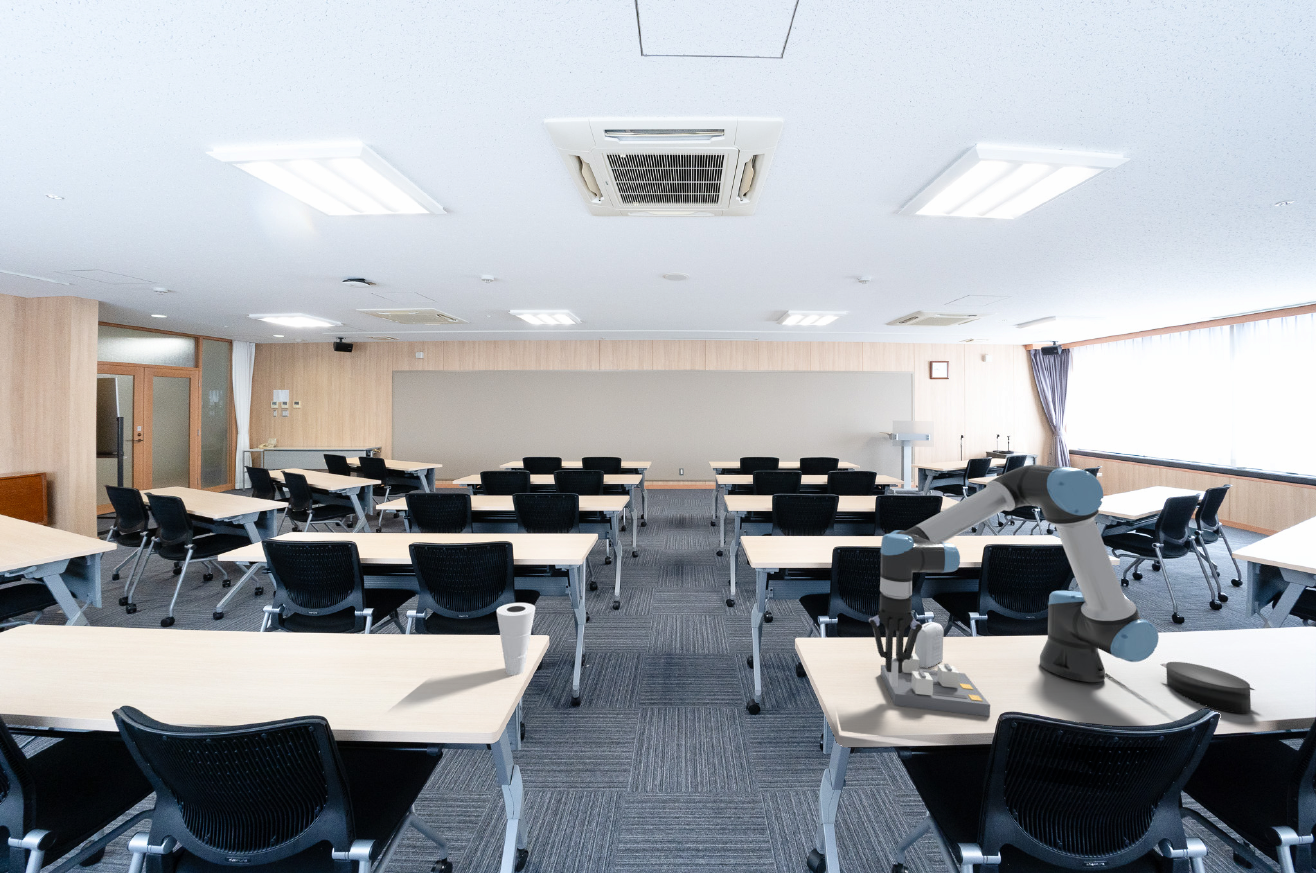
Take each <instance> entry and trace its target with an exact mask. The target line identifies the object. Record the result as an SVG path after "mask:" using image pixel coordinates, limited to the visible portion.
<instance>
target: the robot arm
mask: <svg viewBox="0 0 1316 873" xmlns="http://www.w3.org/2000/svg"><path fill="white" fill-rule="evenodd" d="M985 486H986V487H984V488H983V489H981V490H979V491H977V492H976V493H974V494H971V495H970V496H968V497H965V498H964V499H962V500H960V501H959V502H957V503H955V504H953V505H952V506H951V505H950V506H949V507H948V508H945V509H944V510H942V511H940V512H939V513H936V514H935V515H933V516H931V517H929V518H928V519H925V520H924V521H922V522H920V523H918V524H916V525H914V526H913V527H911V528H908V529H907V530H903V529H902V530H900V529H899V530H893V531H891V532H890V533H886V534H884V535H883V536H882V538H881V544H880V546H881V547H880V582H879V583H880V585H879V591H880V594H879V609H878V612H877V614H876V615H875V616H874V617H869V618H867V619H868V622H869V624H870V625H871V627H872V630H873V635H874V639H875V644H876V647H877V652H878V654H879V656H880V658H884V659H885V664H884V665H885V668H886V670H887V672H889V682H890V684H891V686H893V687H898V673H902V663H903V662H904V660H910V658H911V655H912V653H913V651H914V649H915V641H916V638H917V635H918V633H919V631H920V630H921V629H922V625H923V624H921V622H920V621H917V620H915V619H914V616H913V615H912V597H911V596H912V595H913V573H941V574H943V573H951V572H955V571H957V570H958V569H959V566H960V564H961V554H960V551H959V549H958V548H957V546H956V545H954V544H953V543H951V542H948V541H949V540H951V539H952V538H954V537H956V536H958V535H960V534H962V533H964V532H965V531H968V530H970V529H971V528H973V527H975V526H977V525H979V524H981V523H982V522H984V521H986V520H989V519H990V518H992V517H994V516H995V515H997V514H999V513H1001V512H1003V511H1008V512H1011V511H1013V510H1015V509H1017V508H1020V507H1024V506H1033V507H1038V508H1040V509H1041V512H1042V514H1043V517H1044V519H1045V521H1046V522H1047V523H1049V524H1050V525H1053V526H1055V529H1056V533H1057V534H1058V536H1059V538H1060V541H1061V544H1062V547H1063V549H1064V552H1065V555H1066V557H1067V560H1068V563H1069V565H1070V567H1071V570H1072V573H1073V575H1074V578H1075V579H1076V582H1077V585H1078V589H1079V591H1077V590H1076V591H1074V590H1054V591H1051V593H1050V594H1049V597H1048V598H1049V599H1048V603H1047V607H1048V608H1047V613H1048V614H1047V640H1046V642H1045V643H1044V646H1043V649H1042V650H1041V653H1040V654H1039V665H1040V666H1041V667H1043V668H1044V669H1045V670H1046V671H1048V672H1051V673H1053V674H1055V675H1058V676H1059V677H1063V678H1067V679H1070V680H1075V681H1080V682H1086V683H1088V682H1089V683H1099V682H1103V681H1104V680H1106V679H1105V678H1106V669H1105V666H1104V663H1103V661H1102V658H1101V655H1100V652H1099V650H1101V651H1102V652H1104V653H1107V654H1109V655H1110V656H1113V657H1115V658H1117V659H1121V660H1123V661H1127V662H1130V663H1139V662H1142V661H1144V660H1146V659H1148V658H1149V657H1151V655H1152V654H1154V652H1155V649H1156V648H1157V647H1158V643H1159V633H1158V629H1157V627H1156V626H1155V625H1154V623H1151V622H1150V621H1149V620H1147V619H1143V618H1141V616H1140V613H1139V611H1138V608H1137V606H1136V604H1135V603H1134V602H1133V601H1132V600H1129V599H1127V598H1126V597H1125V594H1124V592H1123V588H1122V587H1121V584H1120V581H1119V579H1118V577H1117V574H1116V572H1115V569H1114V566H1113V564H1112V561H1111V559H1110V556H1109V554H1108V551H1107V549H1106V545H1105V544H1104V540H1103V538H1102V535H1101V533H1100V529H1099V528H1098V525H1097V522H1096V519H1095V518H1096V517H1097V516H1098V515H1099V513H1100V511H1099V510H1100V507H1102V505H1103V504H1102V503H1103V501H1102V499H1104V490H1103V487H1102V484H1101V482H1100V481H1099V479H1098V478H1097V477H1096V476H1095V475H1093V474H1092V473H1091V472H1090V471H1086V470H1084V469H1079V468H1076V467H1072V466H1071V467H1070V466H1054V465H1045V464H1044V465H1043V464H1029V465H1023V466H1020V467H1017V468H1015V469H1013V470H1010V471H1008V472H1005V473H1003V474H1001V475H1000V476H999V475H998V476H997V477H995V478H993V479H992V480H990V481H988V482H987V483H986V485H985ZM880 622H881V623H882V625H883V626H884V627H885V649H884V644H883V641H882V637H881V632H880V631H881V630H880V629H879V626H880ZM909 626H910V629H909V632H908V636H907V639H906V643H905V646H904V636H905V630H906V629H907V628H908V627H909ZM894 631H895V634H896V635H895V636H896V638H895V657H893V650H894V649H893V644H894V642H893V640H894Z"/></svg>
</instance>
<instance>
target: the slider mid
mask: <svg viewBox="0 0 1316 873" xmlns="http://www.w3.org/2000/svg"><path fill="white" fill-rule="evenodd" d="M936 670H937V679H938V681H939V682H940V684H941V685H942V686H945V687H954V688H959V673H960V672H959V671H958V669H957V668H956V667H955V666H954V665H949V663H944V664H937V669H936Z"/></svg>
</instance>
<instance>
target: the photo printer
mask: <svg viewBox="0 0 1316 873" xmlns="http://www.w3.org/2000/svg"><path fill="white" fill-rule="evenodd" d="M921 625H922V629H921V630H920V631H919V633H918V635H917V638H916V641H915V645H914V653H915V654H916V655H917V657H918V658H919V666H921V667H920V668H922V667H925V668H924V669H929V668H928V667H930V668H932V667H934V666H936V664H937V665H939V664H940V663H939V662H941V663H942V662H943V661H942V660H943V658H944V628H943V626H942V625H941V624H940V623H938V622H933V621H930V622H926V623H923V624H921ZM938 663H939V664H938ZM931 666H932V667H931Z"/></svg>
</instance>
